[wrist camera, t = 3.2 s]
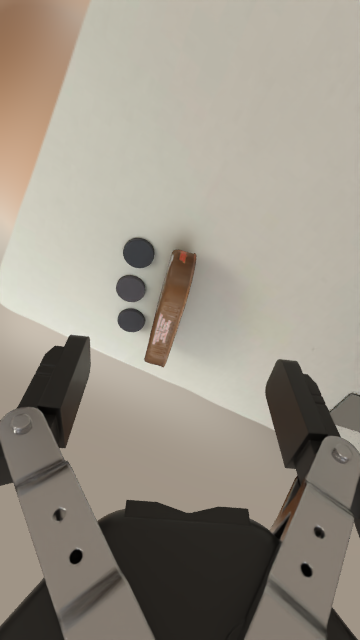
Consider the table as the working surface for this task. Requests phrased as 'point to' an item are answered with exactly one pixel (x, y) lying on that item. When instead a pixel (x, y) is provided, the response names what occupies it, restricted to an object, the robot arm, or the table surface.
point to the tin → (170, 306)
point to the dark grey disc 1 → (138, 253)
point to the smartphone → (348, 413)
